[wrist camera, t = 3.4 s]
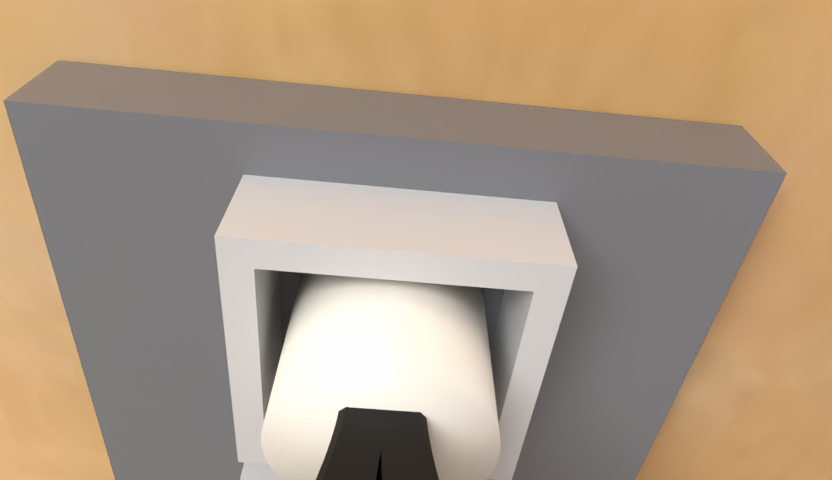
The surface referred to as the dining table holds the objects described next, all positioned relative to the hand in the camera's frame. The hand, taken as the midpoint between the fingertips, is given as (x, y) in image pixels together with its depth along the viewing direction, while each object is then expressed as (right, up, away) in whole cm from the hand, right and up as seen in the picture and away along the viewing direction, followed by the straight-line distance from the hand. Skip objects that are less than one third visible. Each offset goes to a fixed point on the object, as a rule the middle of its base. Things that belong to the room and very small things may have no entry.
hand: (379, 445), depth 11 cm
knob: (0, +2, +3) cm, 3 cm away
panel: (-1, -2, +8) cm, 9 cm away
